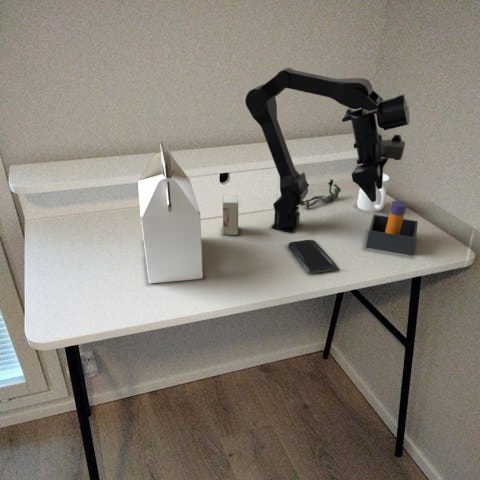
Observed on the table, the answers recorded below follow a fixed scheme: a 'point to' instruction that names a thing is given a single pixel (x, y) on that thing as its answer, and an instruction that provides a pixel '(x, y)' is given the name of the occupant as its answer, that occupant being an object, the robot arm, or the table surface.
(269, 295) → the table surface
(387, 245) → the organizer
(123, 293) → the table surface
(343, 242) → the table surface
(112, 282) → the table surface
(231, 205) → the cosmetics bottle
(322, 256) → the phone
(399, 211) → the glue stick
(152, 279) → the gable box
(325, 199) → the zombie figurine
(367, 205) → the mug
